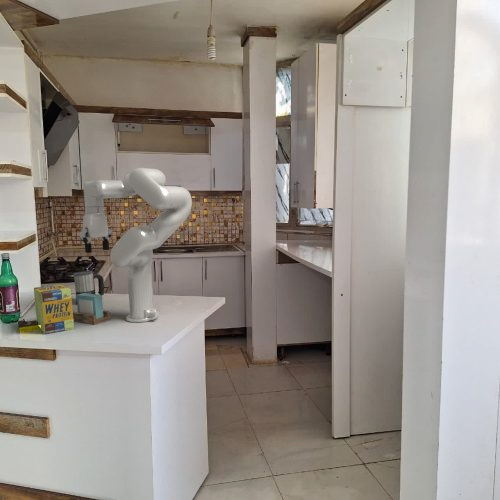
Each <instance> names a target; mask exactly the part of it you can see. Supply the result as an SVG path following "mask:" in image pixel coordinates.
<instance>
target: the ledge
mask: <svg viewBox="0 0 500 500" xmlns="http://www.w3.org/2000/svg"><path fill="white" fill-rule="evenodd" d="M110 320H111V311H109V310H104V309H103V317H102V318H99V319H96V315H90V314H84V313H78V311H77V312H76V311H73V322H76V323H81V324H88V325H93V326H94V325H98V324H101V323H104V322H108V321H110Z"/></svg>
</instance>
